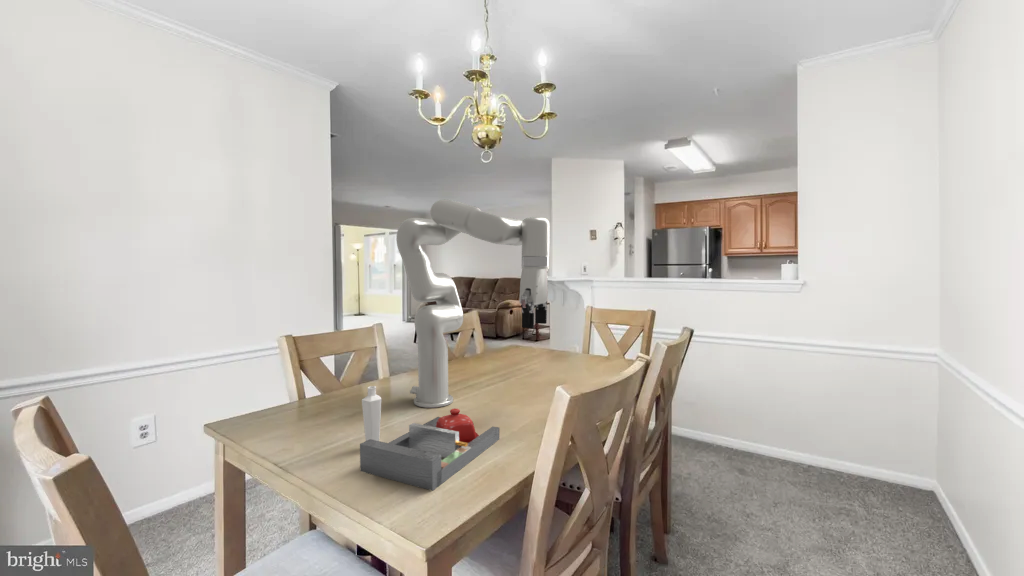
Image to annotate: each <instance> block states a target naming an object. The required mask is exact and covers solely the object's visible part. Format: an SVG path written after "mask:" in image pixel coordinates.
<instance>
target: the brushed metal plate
mask: <svg viewBox="0 0 1024 576" xmlns="http://www.w3.org/2000/svg"><path fill="white" fill-rule="evenodd" d="M408 429H409V430H408V432H409V448H412V449H416V450H421V451H425V452H430V453H434V454H439V455H441V458H443V459H444V458H446V457H447V456H449V455H450V454H452V453H453V452H454V451H456V450H457V449H459V448H460V447H462V446H465V447H466V446H467V445H468V443H466V442H461V441H459V432H458V431H453V430H448V429H443V428H437V427H432V426H427V425H423V424H421V423H415V422H413V423H410V424H408ZM459 445H460V447H459Z"/></svg>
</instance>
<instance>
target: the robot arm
mask: <svg viewBox="0 0 1024 576" xmlns="http://www.w3.org/2000/svg"><path fill="white" fill-rule="evenodd" d="M429 212H430V219H429V218H422V217H409V218H407V219H405V220H403V221H402V222H401V223H400V225H399V227H398V229H397V231H396V239H395V240H396V246H397V249H398V252H399V255H400V257H401V260H402V262H403V265H404V269H405V272H406V276H407V281H408V284H409V289H410V292H411V295H412V297H413V299H414V300H415V301H416V302H419V303H431V302H432V303H433V302H436V303H435V304H429V305H425V306H423V307H421V308H419V309H418V310H417V311H416V313H415V314H414V320H413V321H414V322H413V323H414V328H415V332H416V333H415V334H416V338H417V339H416V340H417V359H418V360H417V362H418V365H417V366H418V367H417V370H418V372H417V373H418V374H417V375H418V377H417V379H418V386H417V385H416V386H415V385H413V386H411V389H410V390H409V393H410V394H413V395H414V394H415V397H414V398H413V404H414V405H415V406H417V407H420V408H427V409H428V408H430V409H432V408H433V409H434V408H441V407H446V406H448V405H451V404H452V403H453V402H454V397H453V395H452V394H449V350H448V348H449V347H448V344H447V343H448V342H447V341H446V337H445V335H444V334H446V333H451V332H454V331H457V330H458V329H460V328H461V327H462V325H463V323H464V312H463V311H464V310H463V307H462V303H461V301H460V300H461V299H460V297H459V292H458V290H457V286H456V284H455V281H454V280H453V278H452V277H451V276H450V275H448V273H443V272H435V271H434V269H433V266H432V262H431V259H430V257H429V255H428V253H427V251H425V249H424V248H423V247H422V245H427V246H441V245H445V244H446V243H448V242H450V241H451V240H452V239H454V238H455V237H456V236H458V235H459V234H460V233H463V234H466V235H469V236H470V237H472V238H475V239H478V240H481V241H485V242H487V243H491V244H495V245H504V246H515V247H516V246H517V247H518V246H521V269H522V270H521V275H520V282H519V283H520V285H519V304H520V307H521V327H522V328H524V329H534V328H535V323H536V324H542V325H545V324H547V318H548V315H547V313H548V305H547V303H548V299H549V298H548V293H549V291H548V289H549V287H548V286H549V285H548V270H549V269H550V221H549V219H547V218H545V217H537V216H536V217H533V216H532V217H526V218H524V219H518V218H514V217H513V218H512V217H509V216H500V215H496V214H493V213H489V212H488V213H487V212H484V211H482V210H481V208H479V207H477V206H473V205H469V204H467V203H466V202H462V201H458V200H457V201H456V200H451V199H439V200H436V201H435V202H434V203H433V204H432V205H431V208H430V211H429ZM535 307H536V308H535ZM534 308H535V313H534Z"/></svg>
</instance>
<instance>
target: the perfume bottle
mask: <svg viewBox="0 0 1024 576" xmlns="http://www.w3.org/2000/svg"><path fill="white" fill-rule="evenodd" d="M366 389H367V395H366V396H365V397H363V398H362V399H361V407H362V417H363V425H364V426H363V427H364V438H365V441H367V440H369V439H372V440H376V441H380V438H381V437H380V434H381V416H382V415H381V414H382V412H381V411H382V397H381V395H378V394H377V386H376V385H370V386H368V387H367V388H366Z"/></svg>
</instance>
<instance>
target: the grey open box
mask: <svg viewBox="0 0 1024 576" xmlns="http://www.w3.org/2000/svg"><path fill="white" fill-rule="evenodd" d="M441 417H442V416H436V417H435V418H433V419H431V420H429V421H427V422H425V423H424V424H422V425H427V426H432V427H436V424H437V420H438V419H439V418H441ZM478 435H479V436H478V437H477V438H475V439H474V440H472V441H471V442H469V443H468V445H467V446H466V447H465V446H460V447H459V449H457V450H456V451H454V452H453V453H452V454H450V455H449V456H447V457H446V458H444V457H443V458H442V457H441V455H439V454H434V453H430V452H425V451H421V450H416V449H412V448H409V431H408V432H406V433H405V434H402V435H401V436H399V437H396V438H395V439H393V440H391V441H389V442H385V441H381V440H379V441H376V440H372V439H369V440H367V441H366V440H365V441H363V442H361V443H360V444H359V460H360V461H359V462H360V465H359V469H360V472H362V473H365V474H369V475H372V476H375V477H379V478H384V479H388V480H392V481H395V482H398V483H402V484H406V485H411V486H413V487H418V488H421V489H426V490H428V491H431V492H433V491H434V490H436V489H437V488H439V486H441V485H442V484H444V483H445V482H446V481H448V480H449V479H450V478H451V477H452V476H454V475H455V474H456V473H458V472H459V471H461V469H463V468H465V466H467V465H468V464H469V463H471V462H472V461H473V460H475V459H476V458H477V457H478V456H480V455H481V454H483V453H484V452H485V451H486V450H487V449H489V448H490V447H491V446H493V445H494V444H495V443H496V442H498V441H499V440H500V427H498V426H491V427H489V428H488V429H487V430H485V431H484V432H482V433H481V434H478Z"/></svg>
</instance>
